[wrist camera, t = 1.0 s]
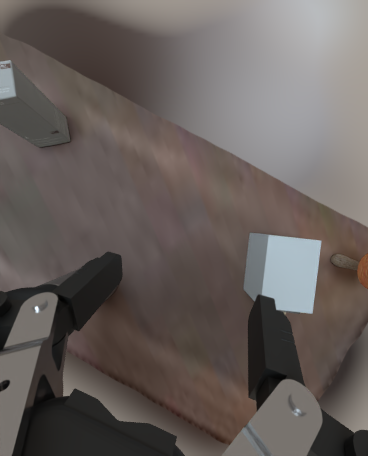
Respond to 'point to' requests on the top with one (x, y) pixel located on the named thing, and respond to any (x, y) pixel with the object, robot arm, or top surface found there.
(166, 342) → the top surface
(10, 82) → the skincare box
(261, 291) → the block
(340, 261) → the mushroom
